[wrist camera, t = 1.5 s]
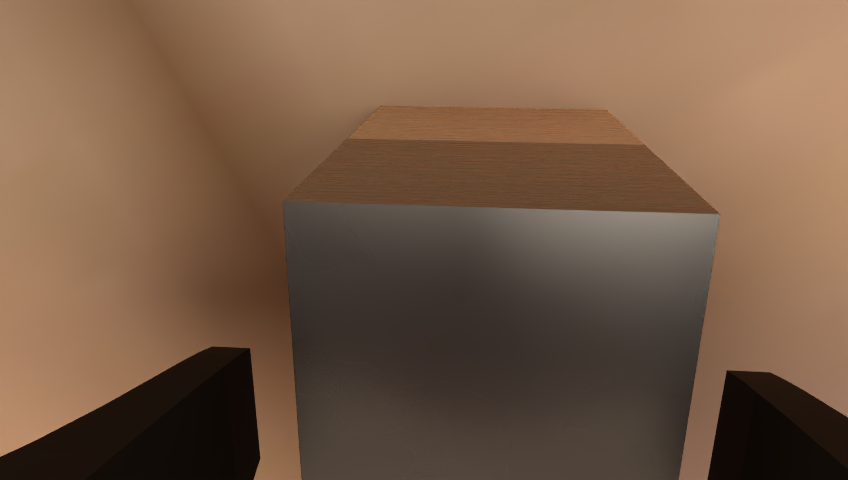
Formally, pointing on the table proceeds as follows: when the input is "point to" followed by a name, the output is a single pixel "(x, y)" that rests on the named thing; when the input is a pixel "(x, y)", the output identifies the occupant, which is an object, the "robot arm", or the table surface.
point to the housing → (495, 299)
